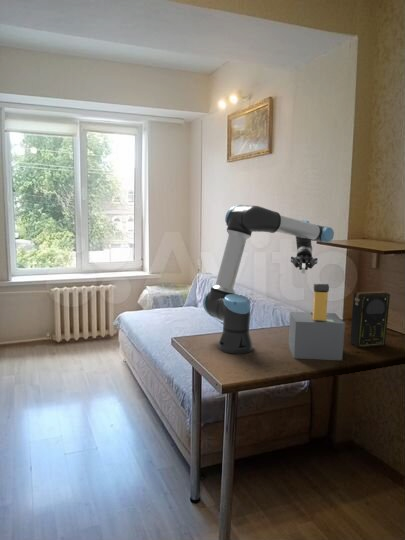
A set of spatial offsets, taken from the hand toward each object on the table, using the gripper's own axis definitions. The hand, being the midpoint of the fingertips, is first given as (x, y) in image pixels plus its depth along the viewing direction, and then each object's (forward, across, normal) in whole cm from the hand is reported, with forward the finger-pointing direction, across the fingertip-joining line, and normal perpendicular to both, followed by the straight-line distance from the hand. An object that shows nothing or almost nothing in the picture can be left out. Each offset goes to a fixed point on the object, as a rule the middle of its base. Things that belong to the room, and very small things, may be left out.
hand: (303, 270), depth 191 cm
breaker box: (+15, -7, -33) cm, 37 cm away
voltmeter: (-3, -31, -36) cm, 48 cm away
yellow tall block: (+17, -8, -16) cm, 24 cm away
